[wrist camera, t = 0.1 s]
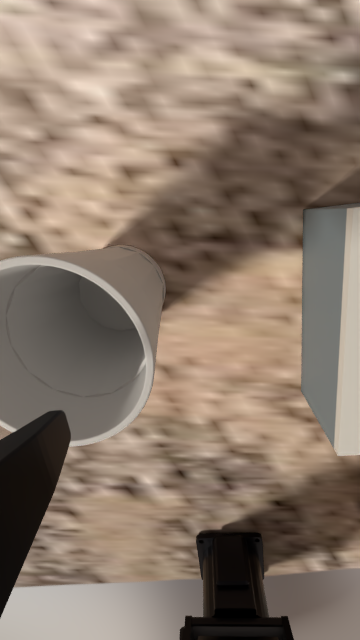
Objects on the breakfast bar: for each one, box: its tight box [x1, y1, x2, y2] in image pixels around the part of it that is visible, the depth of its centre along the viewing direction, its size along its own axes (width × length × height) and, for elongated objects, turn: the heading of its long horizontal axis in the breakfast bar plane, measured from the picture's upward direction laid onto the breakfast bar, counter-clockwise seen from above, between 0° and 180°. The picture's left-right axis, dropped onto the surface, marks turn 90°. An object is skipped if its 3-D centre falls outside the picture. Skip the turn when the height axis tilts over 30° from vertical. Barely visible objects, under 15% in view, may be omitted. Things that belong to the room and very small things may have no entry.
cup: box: [0, 245, 166, 446], centre depth 17 cm, size 8×8×12 cm
